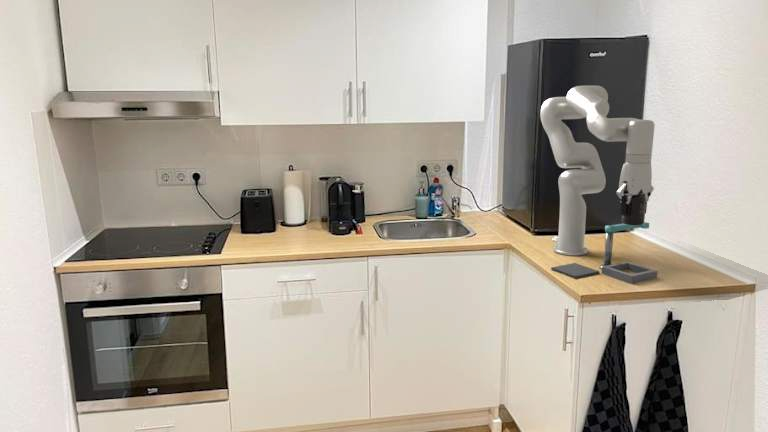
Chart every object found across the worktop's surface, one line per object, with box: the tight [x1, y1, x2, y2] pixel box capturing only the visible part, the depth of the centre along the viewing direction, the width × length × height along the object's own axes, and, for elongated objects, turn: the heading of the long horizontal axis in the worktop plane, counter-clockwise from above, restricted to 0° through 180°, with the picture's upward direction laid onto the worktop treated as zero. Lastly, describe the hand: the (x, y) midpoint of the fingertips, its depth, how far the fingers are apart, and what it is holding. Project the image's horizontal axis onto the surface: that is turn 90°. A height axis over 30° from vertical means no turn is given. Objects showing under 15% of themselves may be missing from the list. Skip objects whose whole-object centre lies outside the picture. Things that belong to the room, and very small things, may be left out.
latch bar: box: [604, 221, 650, 234], centre depth 195 cm, size 17×6×2 cm, turn 116°
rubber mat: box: [550, 262, 600, 279], centre depth 192 cm, size 11×11×1 cm
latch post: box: [598, 232, 614, 271], centre depth 194 cm, size 5×5×13 cm
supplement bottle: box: [621, 189, 646, 225], centre depth 183 cm, size 7×7×12 cm
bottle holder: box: [601, 260, 658, 285], centre depth 187 cm, size 12×12×2 cm
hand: (633, 213), depth 183 cm, fingers closed on supplement bottle, 6 cm apart
